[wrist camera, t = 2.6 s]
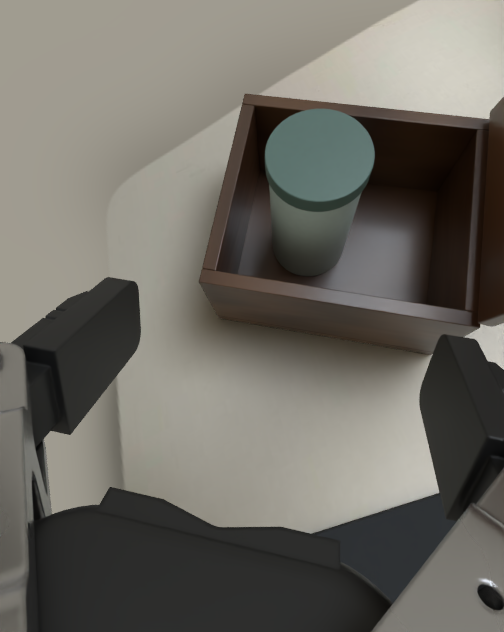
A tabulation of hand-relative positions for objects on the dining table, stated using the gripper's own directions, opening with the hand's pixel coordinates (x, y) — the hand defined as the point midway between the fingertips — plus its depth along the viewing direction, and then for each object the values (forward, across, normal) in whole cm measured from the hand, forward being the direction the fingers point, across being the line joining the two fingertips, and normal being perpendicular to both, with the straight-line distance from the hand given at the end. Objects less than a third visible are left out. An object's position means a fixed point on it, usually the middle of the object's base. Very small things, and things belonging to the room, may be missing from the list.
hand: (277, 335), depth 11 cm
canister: (+19, 0, +4) cm, 20 cm away
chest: (+20, -2, +5) cm, 21 cm away
